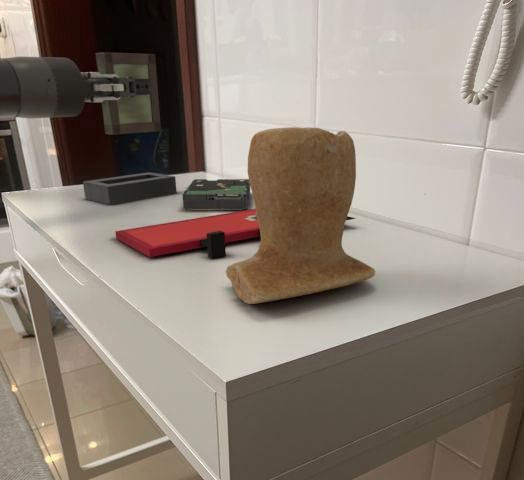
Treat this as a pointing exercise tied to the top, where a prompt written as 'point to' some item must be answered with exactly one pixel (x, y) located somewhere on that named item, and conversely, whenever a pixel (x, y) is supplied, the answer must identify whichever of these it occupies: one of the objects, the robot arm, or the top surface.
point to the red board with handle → (194, 234)
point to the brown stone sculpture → (299, 215)
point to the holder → (129, 188)
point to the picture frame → (130, 108)
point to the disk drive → (217, 194)
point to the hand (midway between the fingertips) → (145, 86)
